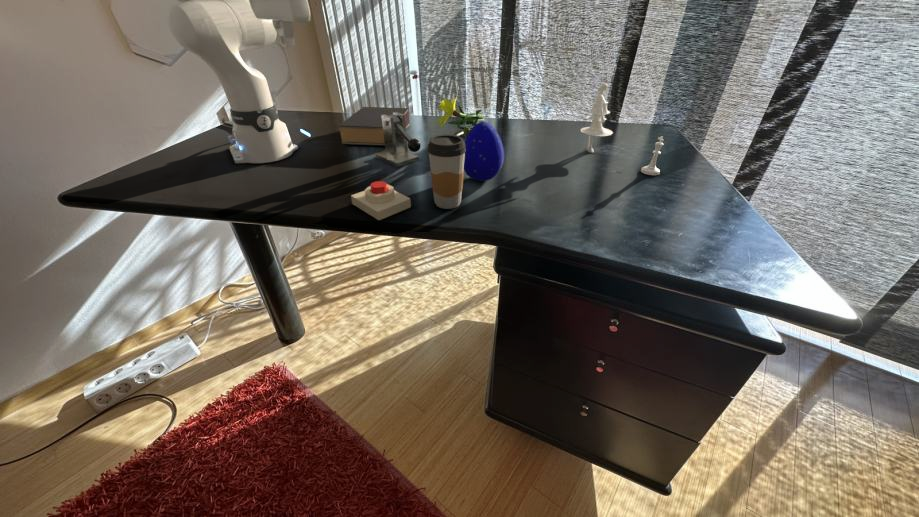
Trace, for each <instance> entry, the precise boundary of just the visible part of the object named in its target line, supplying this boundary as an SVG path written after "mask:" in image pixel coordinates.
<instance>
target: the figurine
mask: <svg viewBox="0 0 919 517" xmlns="http://www.w3.org/2000/svg"><path fill="white" fill-rule="evenodd" d="M608 87H609V85H608V84H607V83H606V82H601V83H600V85H599V87H598V89H597V92H598V93H597V94H596V96H595V101H592V104H593V106H592V108H591V109H590V110H587V111H588V113H589V114H592V115H587V116H586V119H588V120H590V121H591V124H590V126H586V127H585V126H584V127H582V128H580V132H581V133H583V134H585V135H588V143H587V145H586V151H587V153H593V154H594V153H595V150H594V148H593V142H594V138H595V137H609V136H612V135H613V134H614V132H613V131H612V130H611V129H609V128H605V127H604V126H603V122H605V121H606V120H607V118H606V117H605V116H604V115H609V114H611V111H610V110H608V106H607V104H609V102H608V101H606V99H605V97H604V93H607V91H608V89H609V88H608Z"/></svg>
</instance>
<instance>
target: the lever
mask: <svg viewBox="0 0 919 517" xmlns="http://www.w3.org/2000/svg"><path fill="white" fill-rule="evenodd" d="M389 116H390V117H393V120H394V128H396V129H397V130H398V131H399V132H400V133H401V134H402V136H403V137H404V138H405V139H406V140H407V148H408V151H410V152H412V153H418V152H419V151H420V149H421V147H422V146H421V145H422V144H421V141H420V140H419V139H417V138H412V136H410V135H409V134H408V132H407V130H406V131H405V130H404V129H403V128H402V127H401V126H400V120H399V119H398V117H397V116H396V115H395V114H393V115H389Z"/></svg>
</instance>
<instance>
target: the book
mask: <svg viewBox="0 0 919 517" xmlns="http://www.w3.org/2000/svg"><path fill="white" fill-rule="evenodd" d="M393 112H397V113H401V114H404V115H405V124H406V130H407V129H408V127H409V126H410V125H411V123H410V114H409V108H408V107H388V106H387V107H385V106H384V107H383V106H382V107H381V106H362V107H361V108H360V109H359V110H357V111H355V112H354V113H353V114H351V115H350V116H349V117H347V118H346V119H345V120H343V122H341V123H340V124H338V128H339V133H340V139H341V145H350V146H354V145H361V146H385V142H384V134H383V126H382V117H381V115H387V116H389V115H393ZM394 130H395V129H394ZM395 140H396V139H395Z"/></svg>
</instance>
